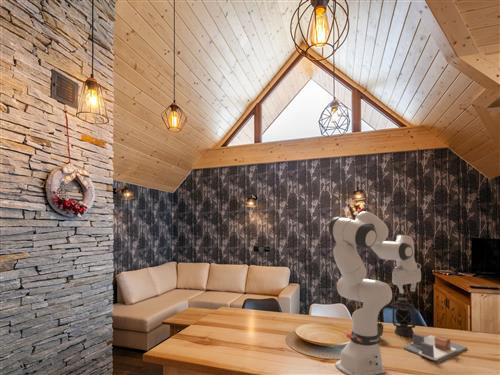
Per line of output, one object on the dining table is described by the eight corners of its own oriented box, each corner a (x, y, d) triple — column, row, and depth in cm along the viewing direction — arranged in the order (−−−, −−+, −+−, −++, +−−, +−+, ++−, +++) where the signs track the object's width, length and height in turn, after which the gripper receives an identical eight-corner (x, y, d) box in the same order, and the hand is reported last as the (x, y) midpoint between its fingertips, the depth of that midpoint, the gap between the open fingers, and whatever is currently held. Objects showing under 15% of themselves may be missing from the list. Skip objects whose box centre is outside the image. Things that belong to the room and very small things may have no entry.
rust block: (445, 351, 143) (445, 340, 144) (435, 347, 148) (434, 337, 148) (450, 349, 146) (450, 338, 147) (440, 345, 150) (439, 335, 151)
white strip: (435, 360, 136) (434, 347, 136) (418, 353, 143) (417, 341, 143) (456, 350, 146) (455, 338, 146) (439, 344, 153) (439, 333, 153)
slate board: (438, 362, 136) (438, 360, 136) (404, 349, 150) (403, 347, 151) (467, 349, 150) (467, 347, 150) (432, 337, 165) (432, 336, 165)
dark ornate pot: (385, 341, 160) (384, 326, 161) (371, 340, 161) (370, 325, 162) (382, 336, 167) (381, 322, 168) (368, 335, 169) (368, 321, 169)
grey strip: (426, 349, 147) (425, 338, 147) (410, 344, 154) (409, 332, 154) (446, 341, 157) (445, 330, 158) (430, 336, 164) (430, 325, 164)
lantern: (393, 335, 168) (390, 282, 171) (391, 329, 178) (389, 279, 181) (418, 338, 164) (414, 284, 167) (414, 331, 174) (411, 280, 177)
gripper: (399, 267, 146) (400, 295, 144) (422, 264, 156) (424, 291, 154) (388, 266, 152) (389, 293, 150) (411, 263, 161) (413, 288, 160)
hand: (407, 292), depth 152 cm, fingers open, 8 cm apart
